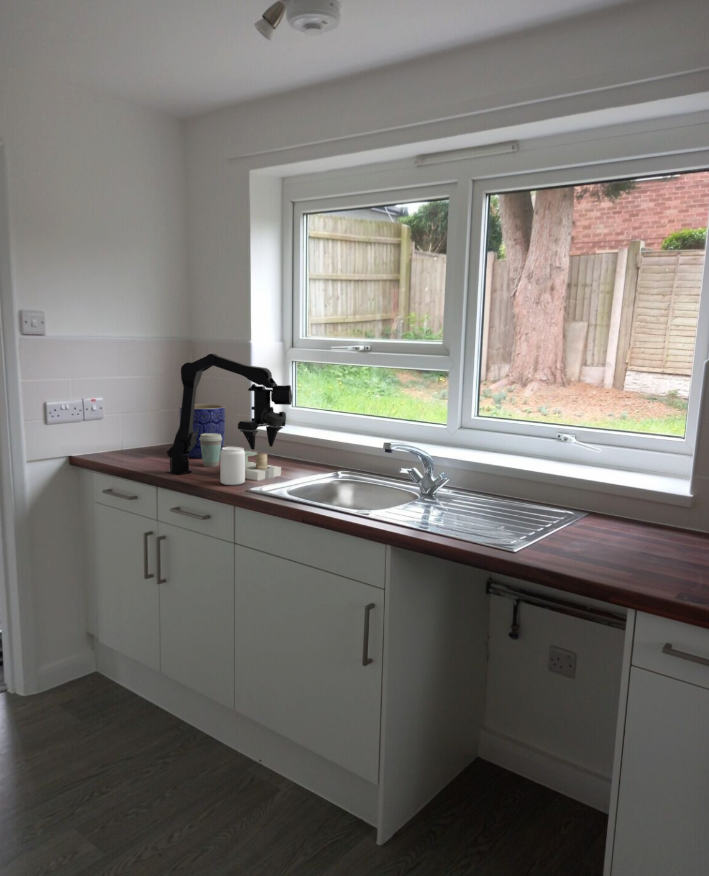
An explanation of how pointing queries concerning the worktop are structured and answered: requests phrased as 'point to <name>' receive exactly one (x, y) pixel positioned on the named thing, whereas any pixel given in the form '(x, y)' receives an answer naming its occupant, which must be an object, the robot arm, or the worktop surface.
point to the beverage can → (232, 466)
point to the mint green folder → (249, 454)
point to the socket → (261, 472)
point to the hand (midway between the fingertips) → (262, 448)
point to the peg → (261, 461)
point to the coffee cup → (210, 449)
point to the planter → (206, 424)
